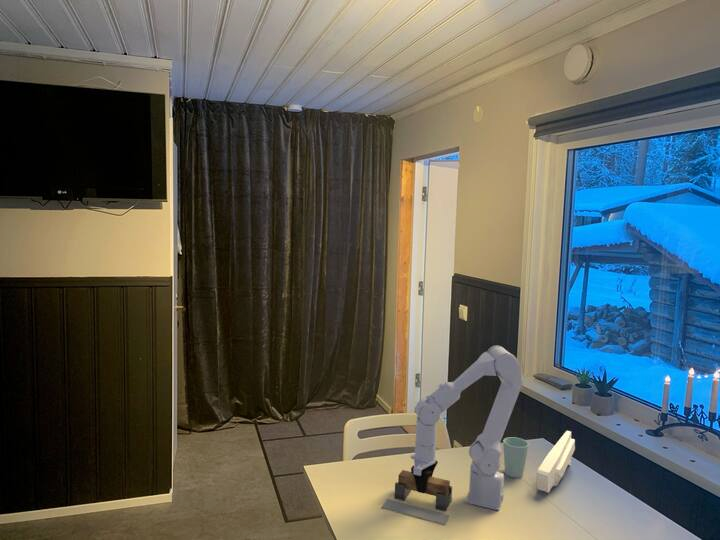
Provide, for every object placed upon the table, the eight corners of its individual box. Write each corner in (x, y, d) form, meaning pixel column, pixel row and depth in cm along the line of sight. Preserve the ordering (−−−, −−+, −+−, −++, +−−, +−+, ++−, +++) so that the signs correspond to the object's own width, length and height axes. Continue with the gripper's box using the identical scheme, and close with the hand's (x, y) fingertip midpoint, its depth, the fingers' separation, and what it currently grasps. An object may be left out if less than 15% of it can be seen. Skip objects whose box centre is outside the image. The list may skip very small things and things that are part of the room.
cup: (521, 467, 175) (523, 437, 174) (530, 479, 167) (532, 447, 166) (498, 467, 175) (500, 436, 174) (506, 479, 167) (508, 447, 166)
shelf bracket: (577, 467, 177) (577, 433, 174) (551, 512, 159) (551, 475, 155) (560, 462, 181) (560, 428, 177) (533, 506, 162) (533, 469, 159)
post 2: (451, 501, 153) (452, 486, 152) (445, 511, 147) (446, 496, 147) (441, 498, 154) (441, 483, 154) (435, 509, 149) (436, 493, 148)
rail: (449, 492, 152) (449, 480, 151) (446, 498, 148) (446, 486, 148) (402, 481, 157) (402, 469, 157) (398, 486, 154) (398, 475, 154)
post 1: (411, 491, 158) (411, 476, 157) (404, 501, 152) (405, 485, 152) (401, 489, 159) (402, 474, 158) (394, 498, 153) (394, 483, 153)
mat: (449, 515, 145) (449, 514, 145) (445, 525, 141) (445, 524, 141) (387, 499, 153) (387, 498, 153) (380, 508, 148) (381, 507, 148)
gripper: (419, 430, 160) (417, 474, 161) (403, 449, 146) (401, 497, 148) (443, 435, 157) (440, 480, 158) (428, 455, 144) (426, 503, 145)
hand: (423, 488), depth 153 cm, fingers closed on rail, 3 cm apart
